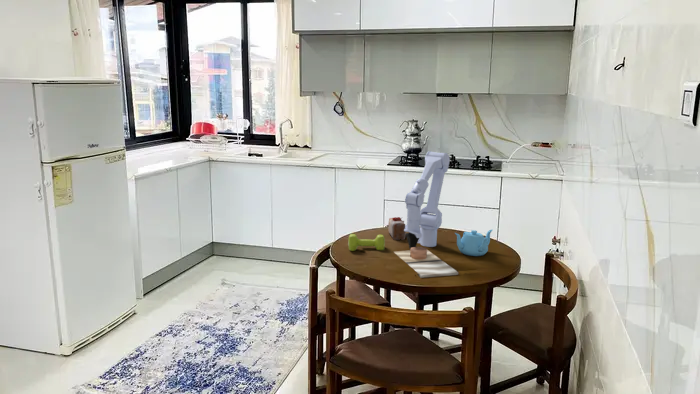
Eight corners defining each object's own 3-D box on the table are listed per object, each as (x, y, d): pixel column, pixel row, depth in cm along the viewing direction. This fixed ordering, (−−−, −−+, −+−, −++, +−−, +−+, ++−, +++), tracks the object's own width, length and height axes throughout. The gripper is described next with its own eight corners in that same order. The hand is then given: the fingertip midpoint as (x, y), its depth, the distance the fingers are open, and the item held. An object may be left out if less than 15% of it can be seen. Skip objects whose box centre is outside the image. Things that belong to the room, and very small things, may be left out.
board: (393, 253, 230) (393, 251, 229) (426, 251, 234) (426, 249, 234) (420, 277, 200) (420, 275, 200) (458, 274, 204) (458, 272, 204)
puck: (407, 255, 225) (408, 247, 224) (422, 254, 227) (423, 246, 226) (413, 260, 218) (414, 252, 218) (429, 258, 220) (429, 251, 219)
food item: (386, 232, 264) (387, 213, 262) (401, 232, 265) (402, 213, 263) (391, 240, 251) (392, 220, 249) (407, 240, 252) (408, 220, 250)
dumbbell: (347, 252, 231) (348, 237, 229) (348, 247, 239) (348, 232, 237) (384, 253, 230) (385, 237, 229) (384, 248, 238) (384, 233, 237)
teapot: (460, 246, 243) (462, 225, 241) (493, 250, 237) (495, 229, 235) (453, 254, 230) (454, 232, 228) (487, 259, 224) (488, 236, 222)
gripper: (399, 216, 232) (398, 245, 235) (411, 224, 218) (409, 254, 221) (413, 215, 234) (412, 244, 237) (426, 223, 220) (425, 253, 223)
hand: (412, 249), depth 229 cm, fingers closed
